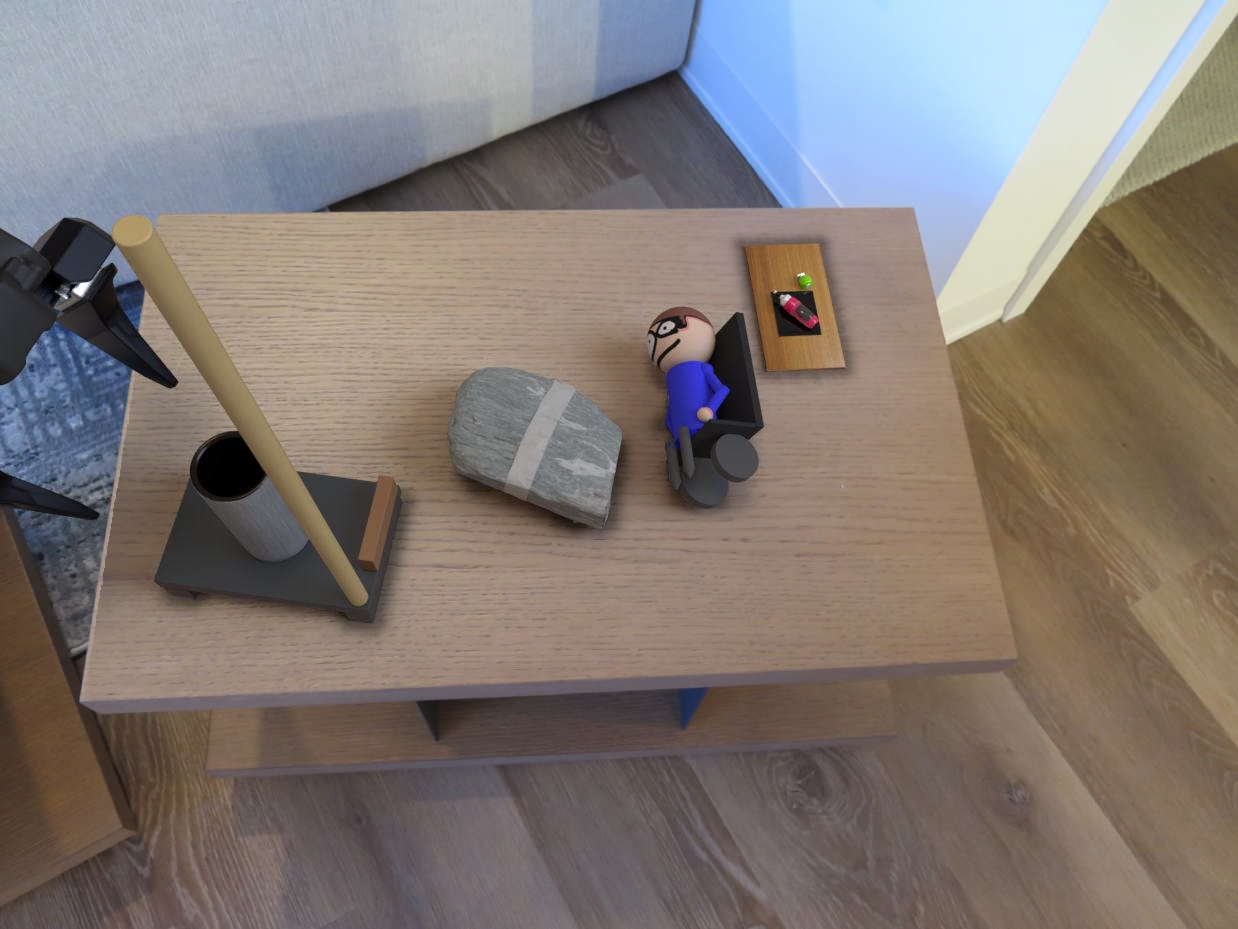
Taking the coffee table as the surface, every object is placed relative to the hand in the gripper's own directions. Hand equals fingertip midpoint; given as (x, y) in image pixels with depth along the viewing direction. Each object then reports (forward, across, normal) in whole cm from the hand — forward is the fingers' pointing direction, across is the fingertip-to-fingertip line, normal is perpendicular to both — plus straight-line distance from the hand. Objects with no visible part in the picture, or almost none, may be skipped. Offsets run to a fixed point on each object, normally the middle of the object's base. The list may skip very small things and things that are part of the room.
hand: (136, 449), depth 57 cm
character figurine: (+30, +18, -14) cm, 38 cm away
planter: (+10, 0, +1) cm, 11 cm away
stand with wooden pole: (+13, 0, +3) cm, 13 cm away
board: (+33, +32, -18) cm, 49 cm away
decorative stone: (+23, +12, -7) cm, 27 cm away
